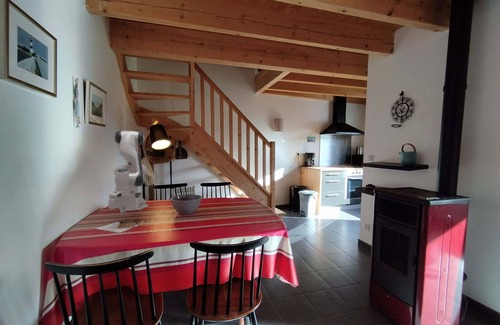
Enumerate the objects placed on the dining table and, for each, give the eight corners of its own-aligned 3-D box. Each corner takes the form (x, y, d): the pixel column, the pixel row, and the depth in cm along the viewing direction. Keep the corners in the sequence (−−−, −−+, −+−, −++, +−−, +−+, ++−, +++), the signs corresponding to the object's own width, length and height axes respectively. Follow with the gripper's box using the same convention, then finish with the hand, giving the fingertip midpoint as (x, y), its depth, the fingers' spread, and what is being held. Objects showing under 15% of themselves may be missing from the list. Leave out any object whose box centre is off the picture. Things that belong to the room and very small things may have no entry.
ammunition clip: (121, 223, 169) (116, 229, 158) (121, 220, 169) (116, 226, 157) (137, 222, 172) (133, 228, 160) (137, 219, 172) (133, 225, 160)
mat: (116, 222, 173) (116, 221, 173) (138, 225, 167) (138, 225, 167) (96, 229, 158) (96, 228, 158) (119, 232, 151) (119, 232, 151)
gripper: (131, 190, 176) (131, 208, 176) (106, 194, 156) (106, 215, 157) (137, 190, 174) (137, 209, 174) (113, 195, 154) (114, 216, 155)
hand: (122, 212), depth 165 cm, fingers closed
